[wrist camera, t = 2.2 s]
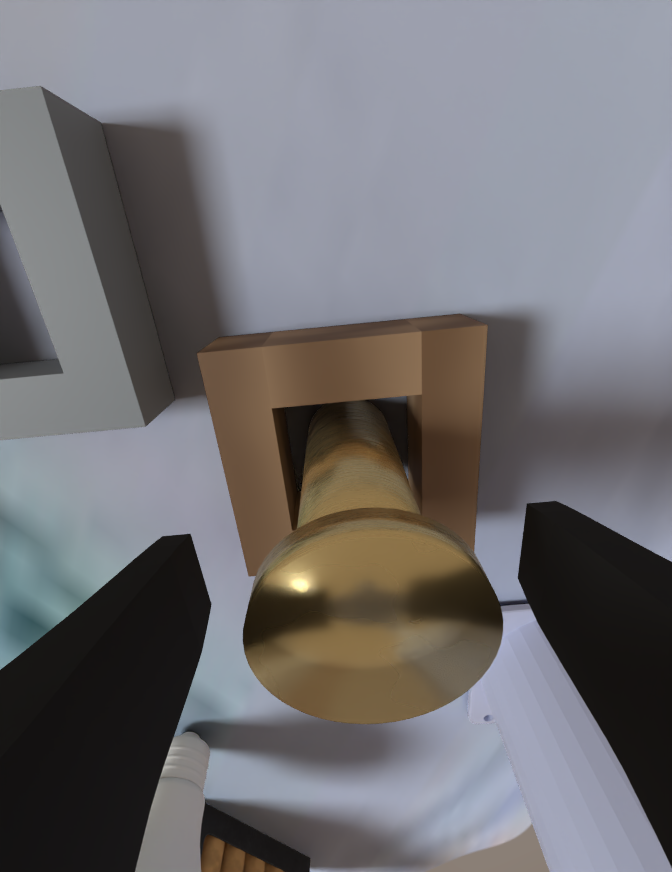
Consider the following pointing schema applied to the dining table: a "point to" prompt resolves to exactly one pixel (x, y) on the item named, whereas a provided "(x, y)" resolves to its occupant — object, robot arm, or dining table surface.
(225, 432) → the brown wooden square frame
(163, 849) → the lightbulb
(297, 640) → the pin
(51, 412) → the socket block
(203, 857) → the ammunition clip
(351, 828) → the dining table surface
